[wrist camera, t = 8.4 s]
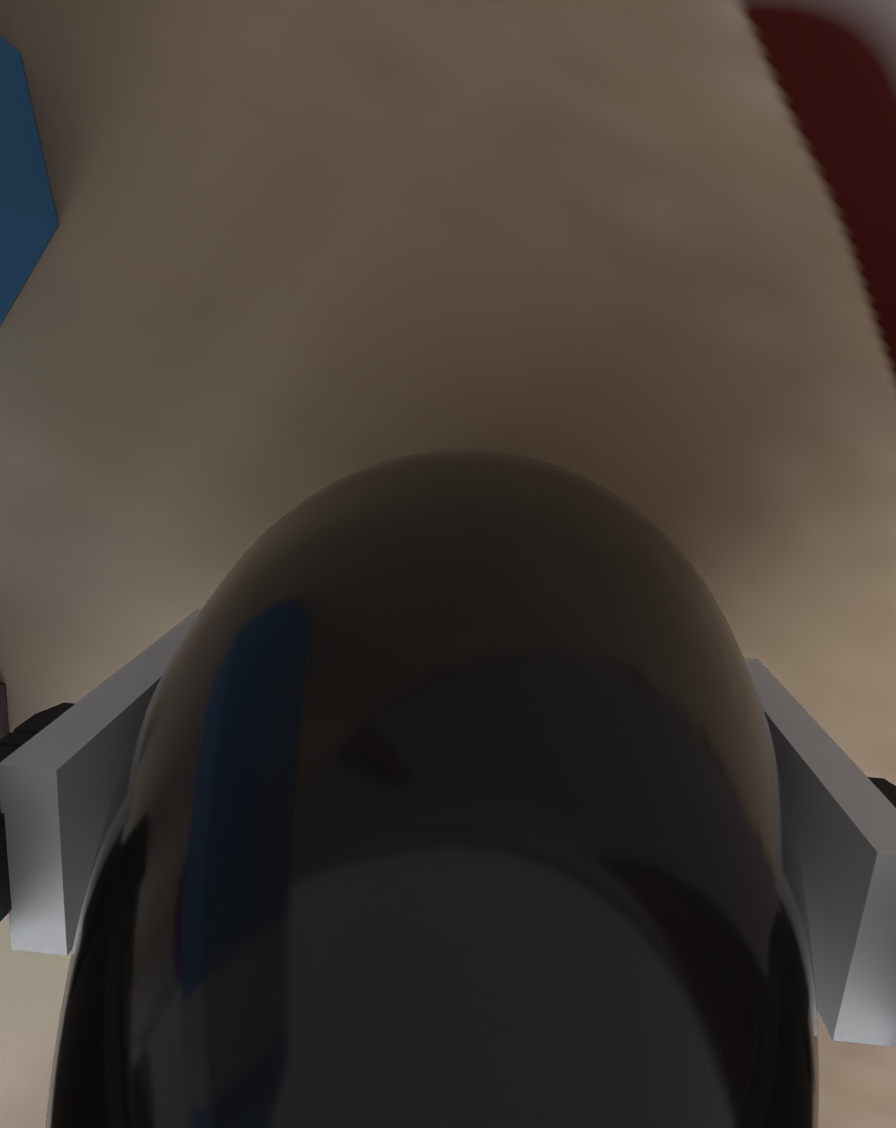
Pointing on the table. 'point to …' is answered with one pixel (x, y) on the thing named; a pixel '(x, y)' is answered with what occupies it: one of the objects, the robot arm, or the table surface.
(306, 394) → the table surface
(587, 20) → the table surface
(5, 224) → the water bottle
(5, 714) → the latch post
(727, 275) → the table surface
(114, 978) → the pump dispenser
